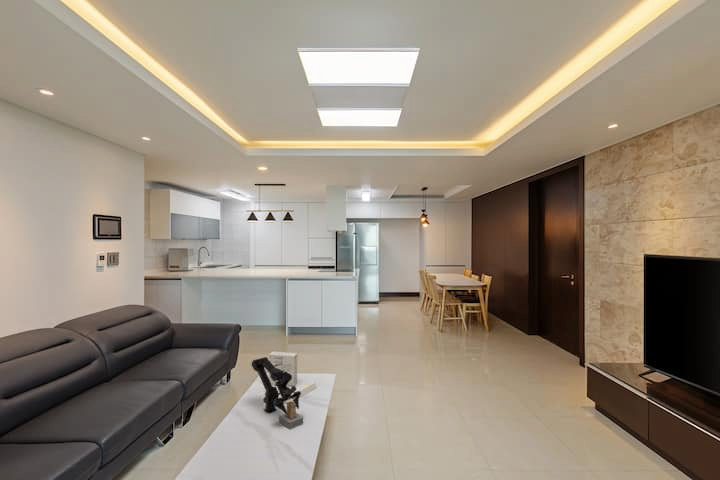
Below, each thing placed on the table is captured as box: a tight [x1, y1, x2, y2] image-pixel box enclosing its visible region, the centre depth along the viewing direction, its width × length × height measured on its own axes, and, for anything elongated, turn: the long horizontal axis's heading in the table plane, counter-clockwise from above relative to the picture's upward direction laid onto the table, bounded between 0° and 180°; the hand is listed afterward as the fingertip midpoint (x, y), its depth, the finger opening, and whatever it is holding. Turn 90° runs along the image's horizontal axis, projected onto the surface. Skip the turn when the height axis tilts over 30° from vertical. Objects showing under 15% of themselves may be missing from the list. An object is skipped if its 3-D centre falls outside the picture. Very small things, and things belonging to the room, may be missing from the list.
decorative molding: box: [278, 382, 318, 405], centre depth 268 cm, size 34×5×10 cm
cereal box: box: [268, 351, 298, 388], centre depth 288 cm, size 22×8×25 cm, turn 81°
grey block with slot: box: [278, 412, 304, 430], centre depth 225 cm, size 12×10×4 cm
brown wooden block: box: [286, 401, 297, 420], centre depth 225 cm, size 5×4×12 cm
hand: (292, 411), depth 224 cm, fingers open, 9 cm apart
